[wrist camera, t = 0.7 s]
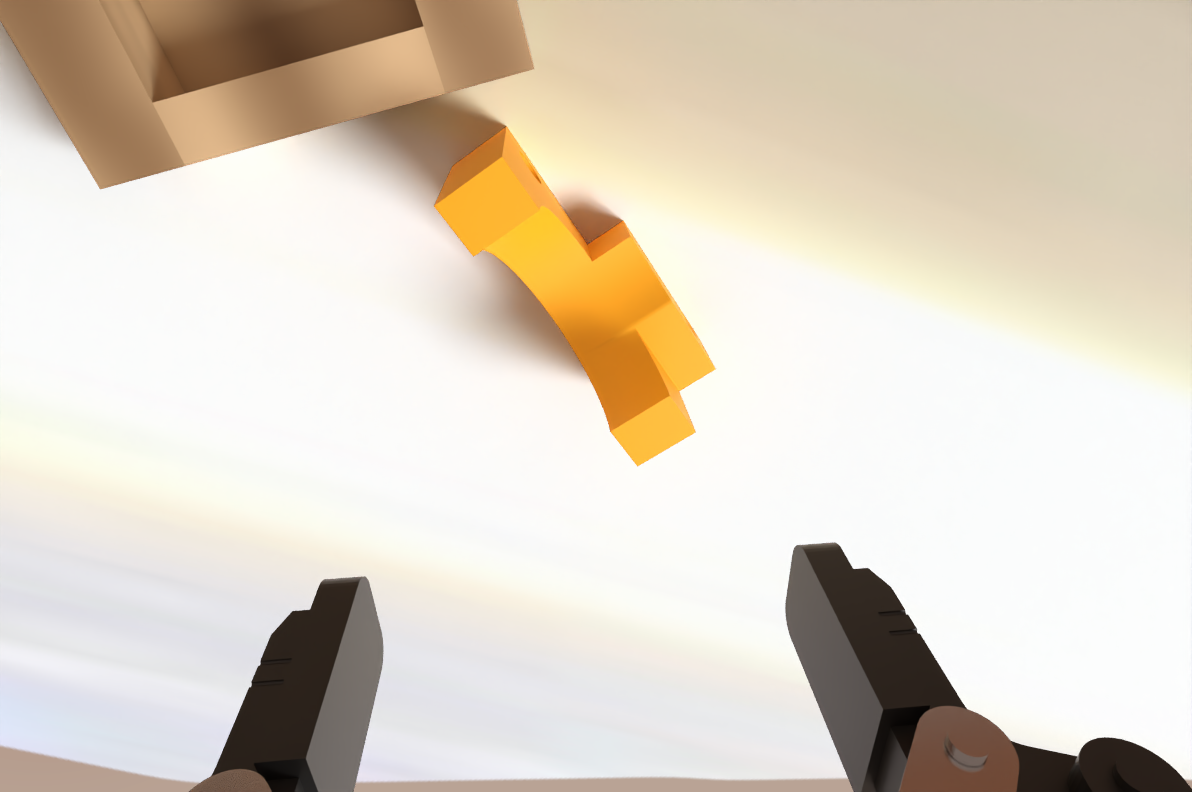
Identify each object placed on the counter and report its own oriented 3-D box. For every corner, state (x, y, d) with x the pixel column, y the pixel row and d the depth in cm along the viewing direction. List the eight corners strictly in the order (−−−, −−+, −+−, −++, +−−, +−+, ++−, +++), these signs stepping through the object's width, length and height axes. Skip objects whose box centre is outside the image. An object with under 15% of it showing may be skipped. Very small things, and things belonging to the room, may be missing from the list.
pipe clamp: (698, 337, 31) (736, 408, 26) (617, 387, 32) (637, 466, 27) (544, 97, 26) (550, 121, 20) (452, 165, 27) (434, 206, 21)
